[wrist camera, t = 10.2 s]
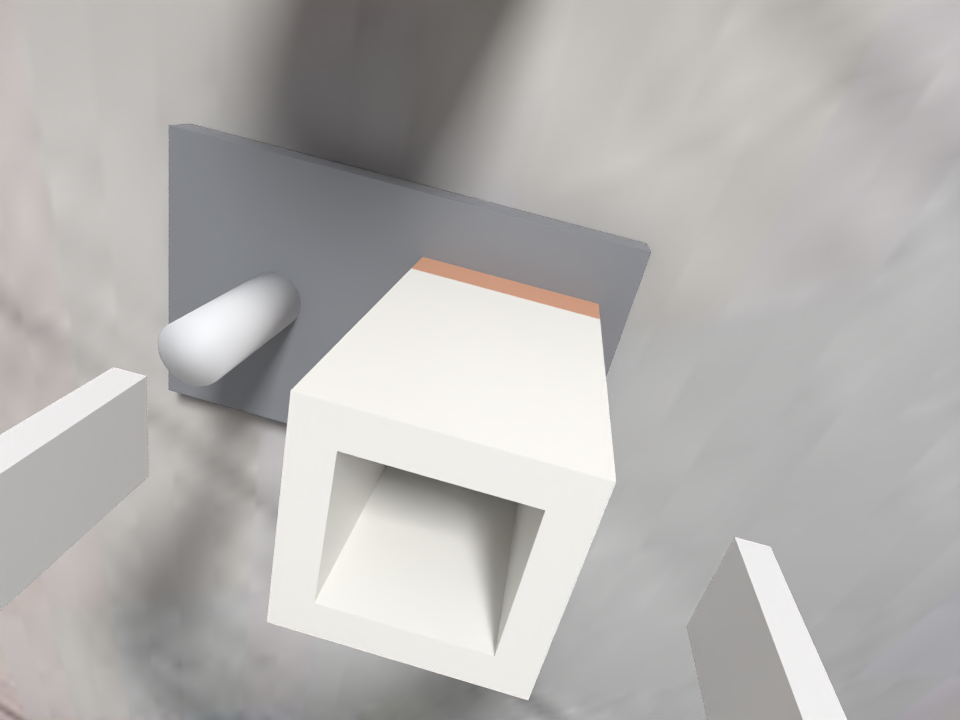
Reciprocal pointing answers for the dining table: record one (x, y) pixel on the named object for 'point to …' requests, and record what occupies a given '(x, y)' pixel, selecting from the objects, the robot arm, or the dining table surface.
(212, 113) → the dining table surface
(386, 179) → the grey board with pegs
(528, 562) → the sleeve
